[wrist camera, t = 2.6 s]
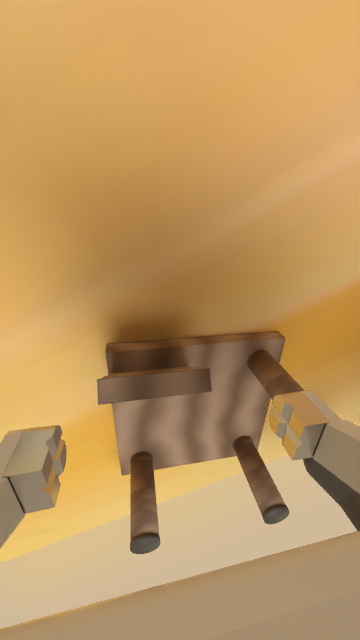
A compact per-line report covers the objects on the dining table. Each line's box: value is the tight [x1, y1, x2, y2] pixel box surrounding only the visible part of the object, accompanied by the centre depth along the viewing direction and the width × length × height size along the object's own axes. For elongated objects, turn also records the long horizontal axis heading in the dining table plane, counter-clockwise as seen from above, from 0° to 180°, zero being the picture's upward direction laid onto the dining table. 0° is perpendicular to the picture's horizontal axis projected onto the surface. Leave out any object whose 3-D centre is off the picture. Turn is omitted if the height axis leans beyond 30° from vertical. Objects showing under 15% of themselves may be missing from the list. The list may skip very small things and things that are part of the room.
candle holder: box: [303, 457, 360, 531], centre depth 34 cm, size 6×6×25 cm
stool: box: [106, 332, 304, 554], centre depth 33 cm, size 25×25×14 cm
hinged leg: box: [97, 366, 212, 405], centre depth 27 cm, size 10×2×11 cm
